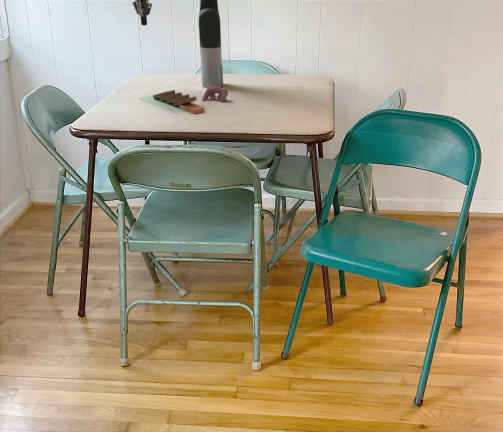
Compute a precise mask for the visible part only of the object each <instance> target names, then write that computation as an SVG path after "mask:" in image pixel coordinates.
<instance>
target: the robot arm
mask: <svg viewBox="0 0 503 432" xmlns="http://www.w3.org/2000/svg"><path fill="white" fill-rule="evenodd" d="M218 4H219V2H218V0H199V12H198V13H199V14H198V34H199V37H198V39H199V49H200V50H199V51H200V67H201V85H202V87H204V88H208V87H213V86H220V87H224V71H223V69H224V68H223V59H222V36H221V35H222V33H221V16H220V14H219V13H220V12H219V5H218ZM132 5H133V8H134V10H135V12H136V14H137V15H138V16H139V17H140V25H141V26H147V25H148V17H147V16H149V15H150V13H151V9H152V7H153V6H152V5H153V3H152V2H149V0H134V1H133V2H132Z"/></svg>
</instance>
